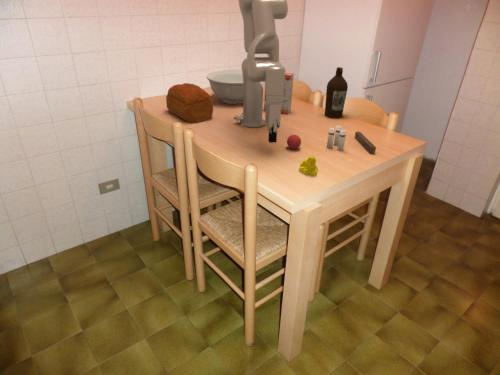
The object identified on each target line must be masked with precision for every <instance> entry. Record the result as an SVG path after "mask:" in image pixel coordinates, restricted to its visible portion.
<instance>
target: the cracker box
mask: <svg viewBox="0 0 500 375" xmlns="http://www.w3.org/2000/svg"><path fill="white" fill-rule="evenodd" d="M294 75H295V74H294V73H292V72H285V86H284V103H282V104H281V114H282V115H289V113H291V110H292V100H293V98H292V97H293V86H294ZM263 100H264V101H263V102H264V103H263V104H264V105H263V111H264V112H266V103H265V97H263Z"/></svg>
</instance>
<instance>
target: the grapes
mask: <svg viewBox="0 0 500 375" xmlns="http://www.w3.org/2000/svg"><path fill="white" fill-rule="evenodd" d="M316 162H317V160H316V158H315V155H313V154H310V156H309V157H307V158H305V159H303V160H302V161H301V162H300V164H299V168H298V172H299V173H301V174H302V175H305V176H307V175H311V176H312V177H315V176H317V175H318V171H319V170H318V169H319V167H318V166H317V165H316V164H317V163H316Z"/></svg>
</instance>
